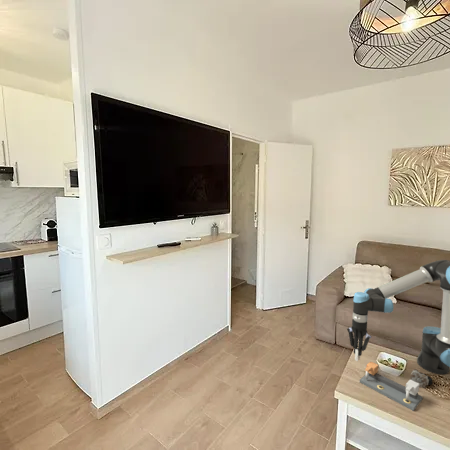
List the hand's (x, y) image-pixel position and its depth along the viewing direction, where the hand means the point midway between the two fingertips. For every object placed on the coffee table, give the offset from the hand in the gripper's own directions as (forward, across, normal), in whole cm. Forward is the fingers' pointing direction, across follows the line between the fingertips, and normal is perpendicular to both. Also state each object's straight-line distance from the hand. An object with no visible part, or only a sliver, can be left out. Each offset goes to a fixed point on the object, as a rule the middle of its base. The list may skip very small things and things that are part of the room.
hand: (357, 359), depth 155 cm
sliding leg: (+4, +8, -2) cm, 9 cm away
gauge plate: (+7, +18, -2) cm, 19 cm away
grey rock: (+7, +26, +18) cm, 32 cm away
